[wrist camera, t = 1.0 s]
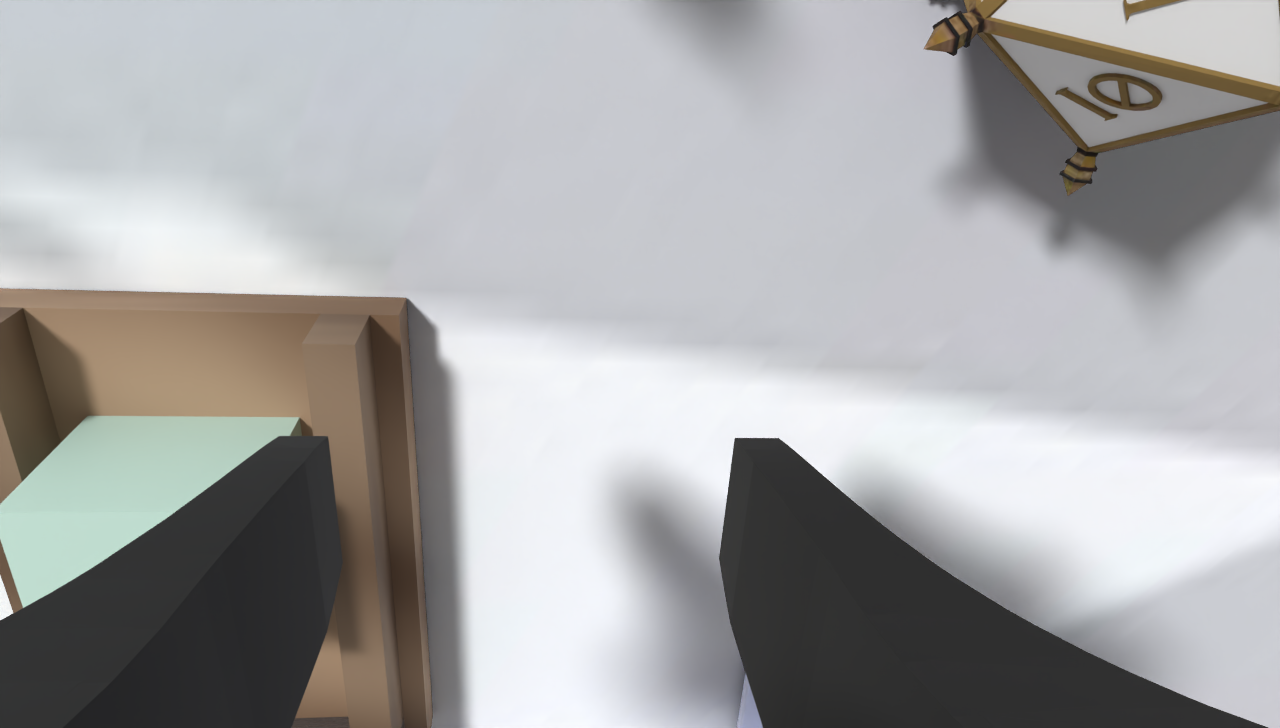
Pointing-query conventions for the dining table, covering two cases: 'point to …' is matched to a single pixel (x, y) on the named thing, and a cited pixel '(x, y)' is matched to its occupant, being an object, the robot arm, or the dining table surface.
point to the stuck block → (117, 488)
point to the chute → (254, 387)
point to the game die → (1129, 64)
